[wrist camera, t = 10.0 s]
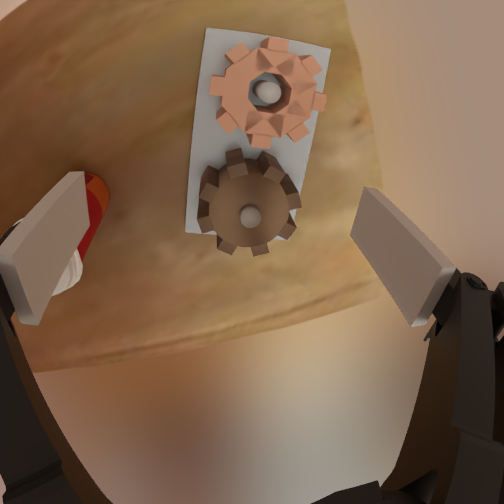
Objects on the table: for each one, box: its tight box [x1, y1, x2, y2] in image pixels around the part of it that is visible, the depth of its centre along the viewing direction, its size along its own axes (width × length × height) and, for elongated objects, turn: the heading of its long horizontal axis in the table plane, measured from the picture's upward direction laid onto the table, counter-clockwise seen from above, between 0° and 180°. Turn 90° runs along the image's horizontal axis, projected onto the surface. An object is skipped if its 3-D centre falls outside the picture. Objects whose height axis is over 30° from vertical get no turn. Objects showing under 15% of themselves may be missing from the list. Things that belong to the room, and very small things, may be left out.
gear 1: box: [209, 37, 328, 149], centre depth 25 cm, size 10×10×5 cm
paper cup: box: [14, 173, 110, 296], centre depth 27 cm, size 8×8×14 cm
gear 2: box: [197, 148, 302, 257], centre depth 30 cm, size 10×10×6 cm
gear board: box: [185, 28, 331, 240], centre depth 29 cm, size 12×22×7 cm, turn 171°
